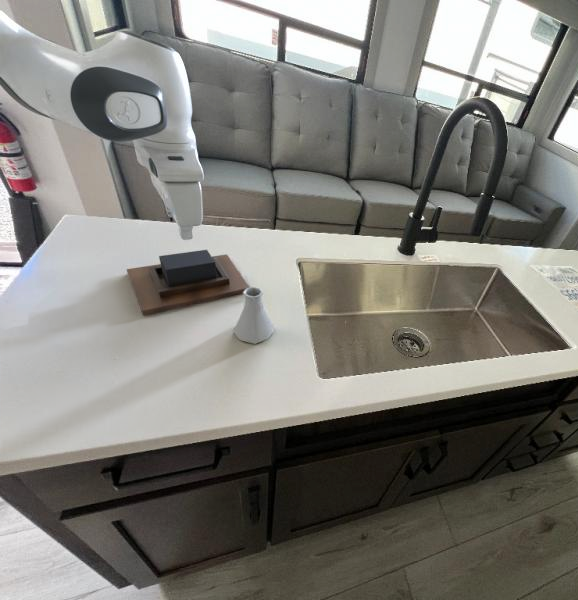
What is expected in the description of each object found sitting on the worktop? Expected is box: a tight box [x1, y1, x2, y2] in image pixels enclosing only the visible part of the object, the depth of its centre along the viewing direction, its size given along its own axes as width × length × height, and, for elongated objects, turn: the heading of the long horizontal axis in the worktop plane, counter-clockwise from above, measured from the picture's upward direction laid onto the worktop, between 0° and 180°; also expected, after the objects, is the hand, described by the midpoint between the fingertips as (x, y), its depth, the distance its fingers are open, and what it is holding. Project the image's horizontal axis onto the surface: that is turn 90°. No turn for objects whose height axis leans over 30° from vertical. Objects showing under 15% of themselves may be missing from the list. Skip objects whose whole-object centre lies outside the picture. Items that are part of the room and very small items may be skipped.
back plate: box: [126, 253, 251, 316], centre depth 72 cm, size 20×15×3 cm
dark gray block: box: [158, 249, 217, 287], centre depth 70 cm, size 9×6×5 cm, turn 130°
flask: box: [232, 286, 276, 345], centre depth 63 cm, size 7×7×10 cm
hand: (179, 226), depth 64 cm, fingers open, 8 cm apart
